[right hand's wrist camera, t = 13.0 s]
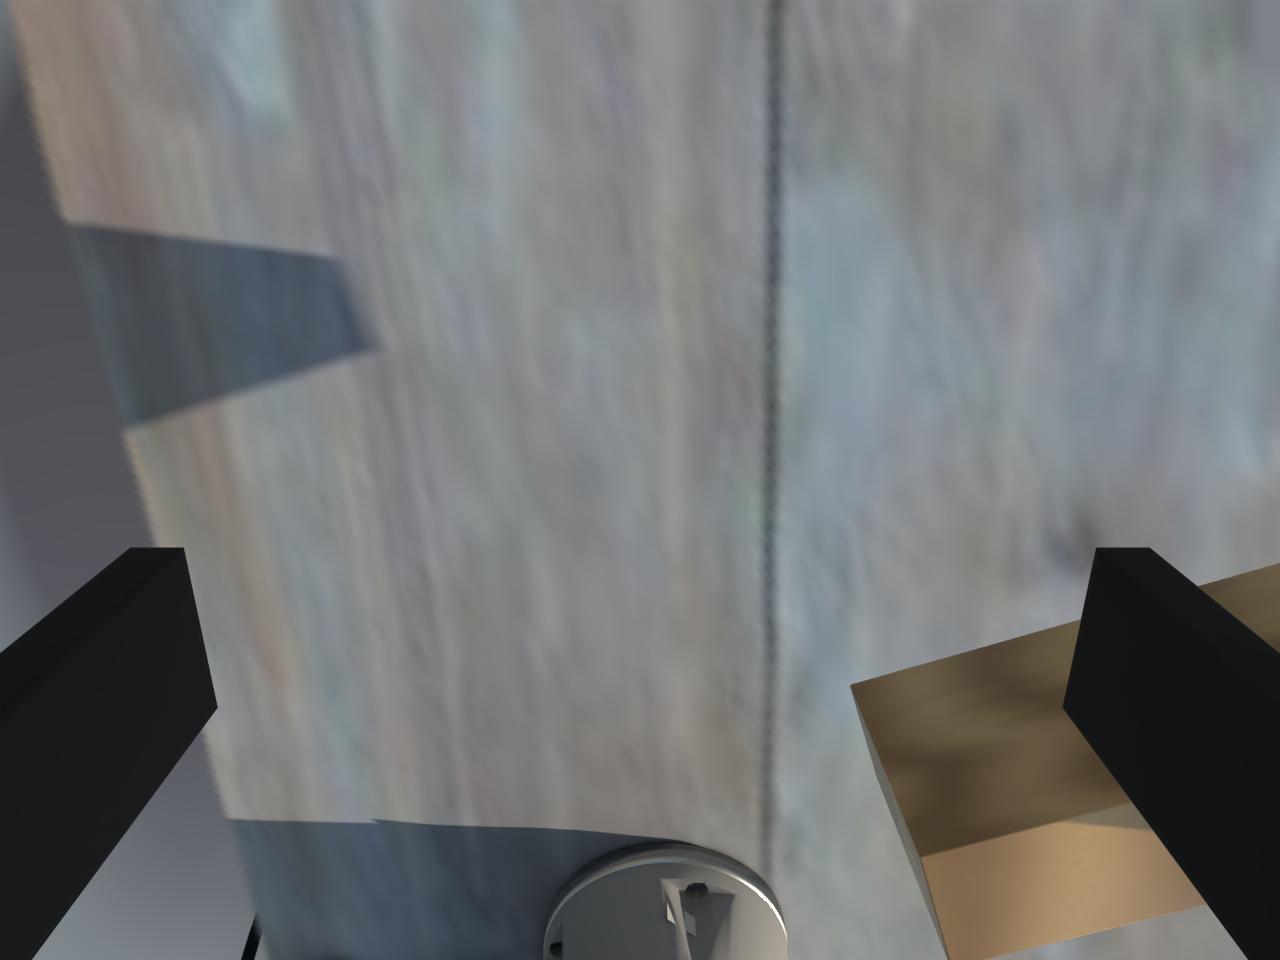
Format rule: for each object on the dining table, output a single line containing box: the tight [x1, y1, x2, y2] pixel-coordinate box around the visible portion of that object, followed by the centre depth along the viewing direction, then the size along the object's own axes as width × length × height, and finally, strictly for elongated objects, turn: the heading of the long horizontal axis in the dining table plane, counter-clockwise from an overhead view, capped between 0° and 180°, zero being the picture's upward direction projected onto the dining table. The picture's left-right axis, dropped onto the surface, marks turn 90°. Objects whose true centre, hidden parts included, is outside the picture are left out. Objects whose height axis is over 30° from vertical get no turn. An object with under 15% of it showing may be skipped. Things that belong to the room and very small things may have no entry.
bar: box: [850, 563, 1280, 960], centre depth 28 cm, size 25×5×8 cm, turn 109°
